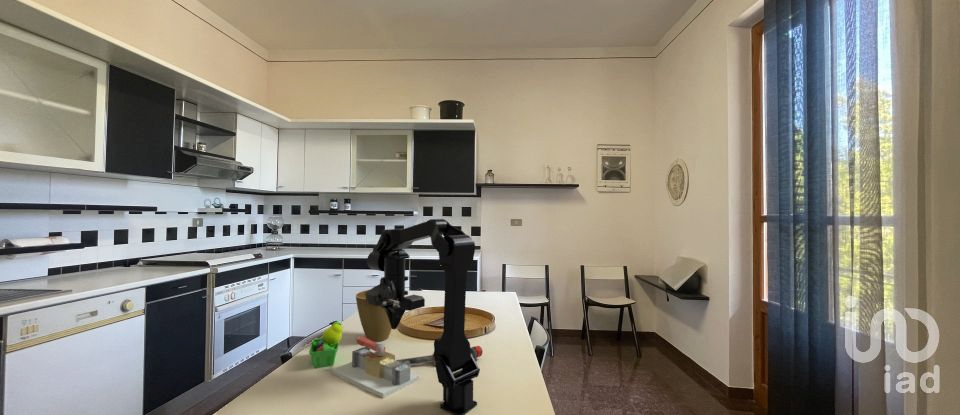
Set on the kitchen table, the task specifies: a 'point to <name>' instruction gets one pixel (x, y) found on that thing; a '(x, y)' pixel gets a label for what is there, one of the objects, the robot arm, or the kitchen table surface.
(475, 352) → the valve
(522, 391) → the kitchen table surface
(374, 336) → the plant pot
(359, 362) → the pipe valve
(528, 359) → the kitchen table surface
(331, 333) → the fruit basket
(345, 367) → the mounting board
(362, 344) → the lever
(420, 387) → the kitchen table surface
